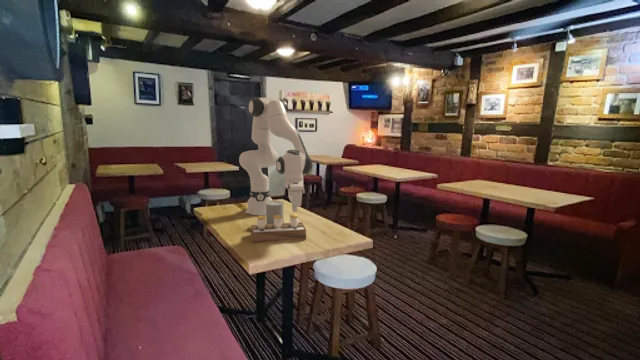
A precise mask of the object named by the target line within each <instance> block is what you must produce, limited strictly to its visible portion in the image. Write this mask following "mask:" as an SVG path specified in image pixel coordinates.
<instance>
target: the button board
mask: <svg viewBox="0 0 640 360" xmlns="http://www.w3.org/2000/svg"><path fill="white" fill-rule="evenodd" d="M298 227H303V228H304V230H290V231H272V232H254V233H253V230H257V224H250V230H251V231H250V232H251V233H250V236H251V239H250V240H251V241H250V243H251V244H257V243H272V242H273V243H274V242H287V241H289V242H292V241H304V240H307V228H306V227H305V225H304V223H303V222H298ZM282 228H290V222H287V223H285V222H283V223H282ZM266 229H274V224H266Z"/></svg>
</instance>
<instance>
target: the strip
mask: <svg viewBox="0 0 640 360" xmlns="http://www.w3.org/2000/svg"><path fill="white" fill-rule="evenodd" d="M290 230H304V228H303V227H298V228H278V229H260V230H253V233H254V232H272V231H290Z"/></svg>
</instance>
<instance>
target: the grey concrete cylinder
mask: <svg viewBox="0 0 640 360" xmlns="http://www.w3.org/2000/svg"><path fill="white" fill-rule="evenodd" d="M274 215H282V223H284V202H283V201H280V200H279V201H278V200H272V201H270V202H267V203H266V215H265V216H266V224H274Z"/></svg>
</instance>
